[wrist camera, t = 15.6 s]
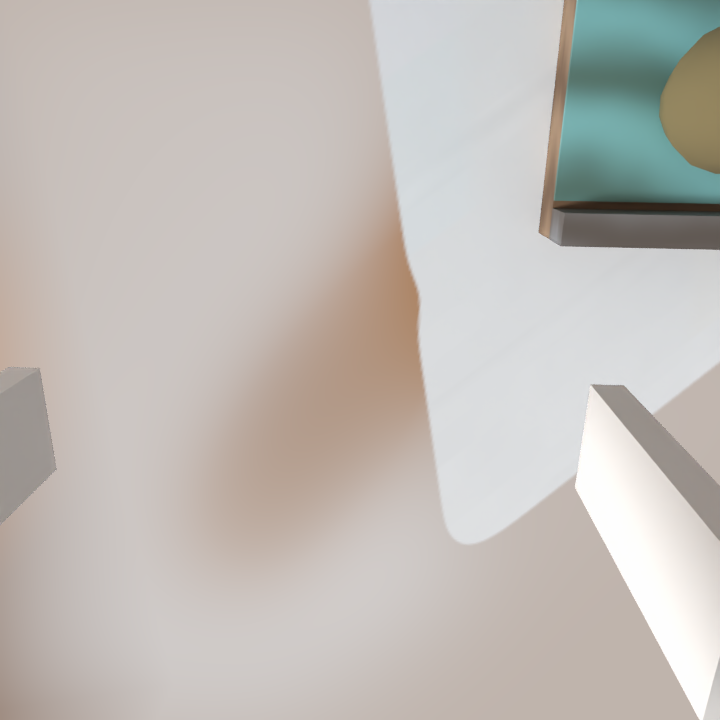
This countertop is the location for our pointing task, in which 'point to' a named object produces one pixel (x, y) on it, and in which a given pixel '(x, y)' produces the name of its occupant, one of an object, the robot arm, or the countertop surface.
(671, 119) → the squeeze bottle
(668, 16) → the dock
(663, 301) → the countertop surface
